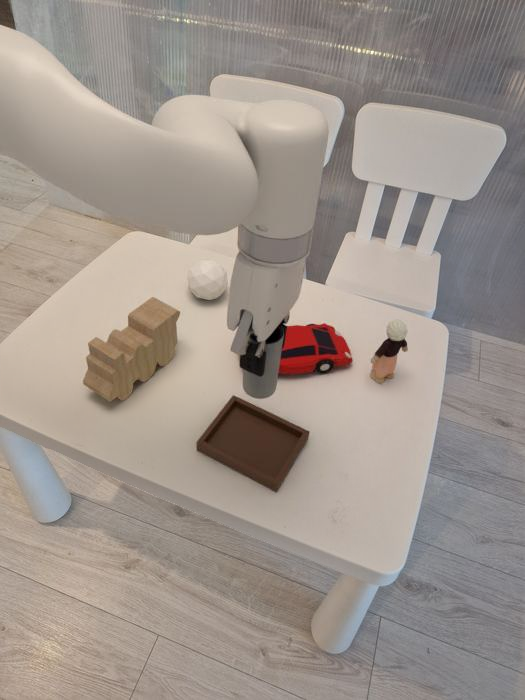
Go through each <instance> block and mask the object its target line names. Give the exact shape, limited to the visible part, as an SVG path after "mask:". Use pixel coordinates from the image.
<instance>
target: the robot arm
mask: <svg viewBox="0 0 525 700" xmlns="http://www.w3.org/2000/svg"><path fill="white" fill-rule="evenodd" d="M329 132H330V131H329V124H328V120H327V118H326V116H325V115H324V114H323V112H321V111H320V109H318V108H316V107H315V106H313V105H310V104H309V103H306V102H303V101H300V100H293V99H286V98H285V99H283V98H282V99H281V98H279V99H269V100H263V101H260V102H250V101H242V100H235V99H228V98H223V97H217V96H210V95H204V94H183V95H179V96H176V97H173V98H171V99H169V100H167V101H166V102H164V103H163V104H162V105H161V106H160V107H159V108H158V110H157V111H156V112H155V114H154V116H153V118H152V120H151V124H149V123H147V122H144V121H142V120H140V119H138V118H135V117H133V116H131V115H129V114H127V113H125V112H124V111H121V110H120V109H118V108H117V107H115V106H113V105H111V104H109V103H108V102H107V101H105V100H103V99H102V98H100V97H99V96H98V95H96V94H95V93H94V92H92V91H91V90H90V89H88V87H86V86H85V85H84V84H82V82H80V81H79V80H78V79H77V78H76V77H75V76H74V75H73V74H72V73H71V72H70V71H69V70H68V69H67V67H65V65H64V64H63V63H61V61H60V60H59V59H58V58H57V57H56V56H55V55H54V54H53V53H52V52H51V51H50V50H49V49H47V48H46V47H45V46H43V44H41V43H40V42H38V41H37V40H36V39H34V38H33V37H32V36H30V35H28V34H26V33H24V32H22V31H20V30H16V29H14V28H11V27H8V26H5V25H2V24H0V155H1V156H5V157H8V158H11V159H13V160H14V161H17V162H19V163H20V164H22V165H23V166H25V167H26V168H28V169H29V170H30V171H32V172H33V173H34V174H35V175H37V176H39V177H40V178H41V179H43V180H45V181H47V182H49V183H50V184H52V185H54V186H55V187H56V188H59V189H61V190H63V191H65V192H66V193H68V194H70V195H71V196H73V197H75V198H76V199H78V200H80V201H82V202H83V203H85V204H87V205H89V206H91V207H93V208H95V209H97V210H99V211H101V212H103V213H106V214H108V215H110V216H113V217H116V218H118V219H121V220H124V221H128V222H130V223H131V222H132V223H135V224H138V225H143V226H147V227H152V228H155V229H160V230H165V231H169V232H172V233H178V234H183V235H185V234H186V235H192V236H214V235H220V234H224V233H227V232H230V231H232V230H234V229H236V228H237V249H238V253H237V254H236V257H235V260H234V264H233V269H232V273H231V277H230V278H231V279H230V284H229V292H228V302H227V309H226V311H227V312H226V327H227V329H228V330H230V331H232V332H234V331H235V330H236V332H235V335H234V337H233V340H232V343H231V345H230V352H232V353H234V354H236V355H238V356H239V355H240V356H239V368H240V369H242V370H246V371H248V372H250V373H253V374H255V375H257V376H259V377H262V376H263V374H264V371H265V362H266V353H267V352H265V351H264V347H265V343H266V339H267V338H268V337H269V336H270V335H271V334H272V332H273V331H274V330H275V329H276V327H277V326H278V325H279V324H280V325H281V326H282V328H283V330H284V337H283V344H282V349H283V348H284V345H285V338H286V331H287V326H288V325H287V324H288V322H289V320H290V317H291V315H290V314H291V313H290V311H291V310H292V309H293V307H294V306H295V305H296V304H297V302H298V299H299V298H300V294H301V290H302V286H303V279H304V273H305V266H306V265H305V263H306V259H307V258H308V257H309V255H310V251H311V245H312V238H313V235H314V229H315V228H314V227H315V220H316V213H317V207H318V202H319V197H320V190H321V184H322V178H323V173H324V172H323V171H324V166H325V160H326V153H327V149H328V148H327V147H328V140H329V134H330V133H329ZM250 335H252V336H254V337H256V339H257V341H258V343H257V345H256V344H254V343H252V342H249V341H248V340H249V337H250Z"/></svg>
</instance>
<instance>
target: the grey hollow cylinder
mask: <svg viewBox="0 0 525 700" xmlns="http://www.w3.org/2000/svg"><path fill="white" fill-rule="evenodd" d="M283 337H284V330H283V328H282V326H281V325H280V324H279V325H278V326H277V327H276V329H275V330H274V331H273V332H272V334H271V335H270V336H269V337H268V338H267V339H266V343H265V347H264V351H265V352H267V353H266V362H265V371H264V374H263V376H262V377H259V376H257V375H255V374H253V373H250V372H248V371H246V370H244V369H242V389H243V391H244V393H245V394H247V396H249V397H251V398H253V399H257V400H263V399H267V398H270V397H272V396H273V395H274V394H275V392H276V389H277V386H278V379H279V373H278V372H279V365H280V358H281V351H282V344H283ZM248 341H249V342H252V343H254V344H256V345H257V343H258V341H257V339H256V337H254V336H252V335H250V337H249V340H248Z"/></svg>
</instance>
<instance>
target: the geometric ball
mask: <svg viewBox="0 0 525 700" xmlns="http://www.w3.org/2000/svg"><path fill="white" fill-rule="evenodd" d="M187 274H188V275H187V286H188V289H189V290H190V291H191V293H192V294H193V295H194V296H195V298H197V299H203V300H207V301H208V300H209V301H210V300H215V299H218V298H219V297H220V296H221V295H222V294H223V293H224V292H225V291H226V289H227V286H228V284H229V283H228V271H227V270H226V269H225V267H223V265H222V264H221V263H220V262H219V261H216V260H213V259H201V260H198V261H197V262H195V264H193V265H192V266H191V267H190V269H189V271H188V273H187Z"/></svg>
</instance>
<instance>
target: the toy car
mask: <svg viewBox="0 0 525 700" xmlns="http://www.w3.org/2000/svg"><path fill="white" fill-rule="evenodd" d="M286 326H287V331H286V338H285V345H284V348H283V349H282V351H281V358H280V365H279V372H278V374H281V375H290V376H291V375H299V374H307V373H312V372H314V371H315V373H317V374H321V375H324V374H327V373H330V372H331V371H333V369H334V368H335V366H336V367H343V366H347V365H351V364H352V363H353V362H354V361H353V356H352V353H351V347H350V346H349V343H348V342H347V339H345V337H344V336H343V335H342V334H341V333H340V332H339V331H338V330H336V329H335V327H334V326H333V325H329V324H327V323H325V322H324V323H320V324H317V323H309V324H306V325H299V324H296V325H286ZM238 356H239V357H240V355H238Z"/></svg>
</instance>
